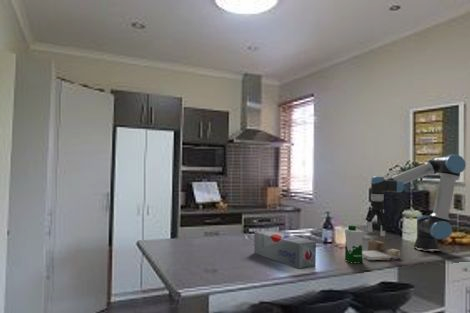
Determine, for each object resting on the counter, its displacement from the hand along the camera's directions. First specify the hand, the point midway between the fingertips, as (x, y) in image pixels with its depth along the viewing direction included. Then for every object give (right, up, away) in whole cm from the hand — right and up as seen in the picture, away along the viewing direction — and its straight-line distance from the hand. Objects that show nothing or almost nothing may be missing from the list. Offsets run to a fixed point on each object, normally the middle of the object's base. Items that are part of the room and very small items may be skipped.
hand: (376, 233), depth 229 cm
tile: (-7, -11, -13) cm, 19 cm away
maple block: (+5, -12, -14) cm, 19 cm away
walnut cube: (0, -12, 0) cm, 12 cm away
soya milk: (-22, -11, -24) cm, 34 cm away
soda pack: (-63, -10, -22) cm, 67 cm away
